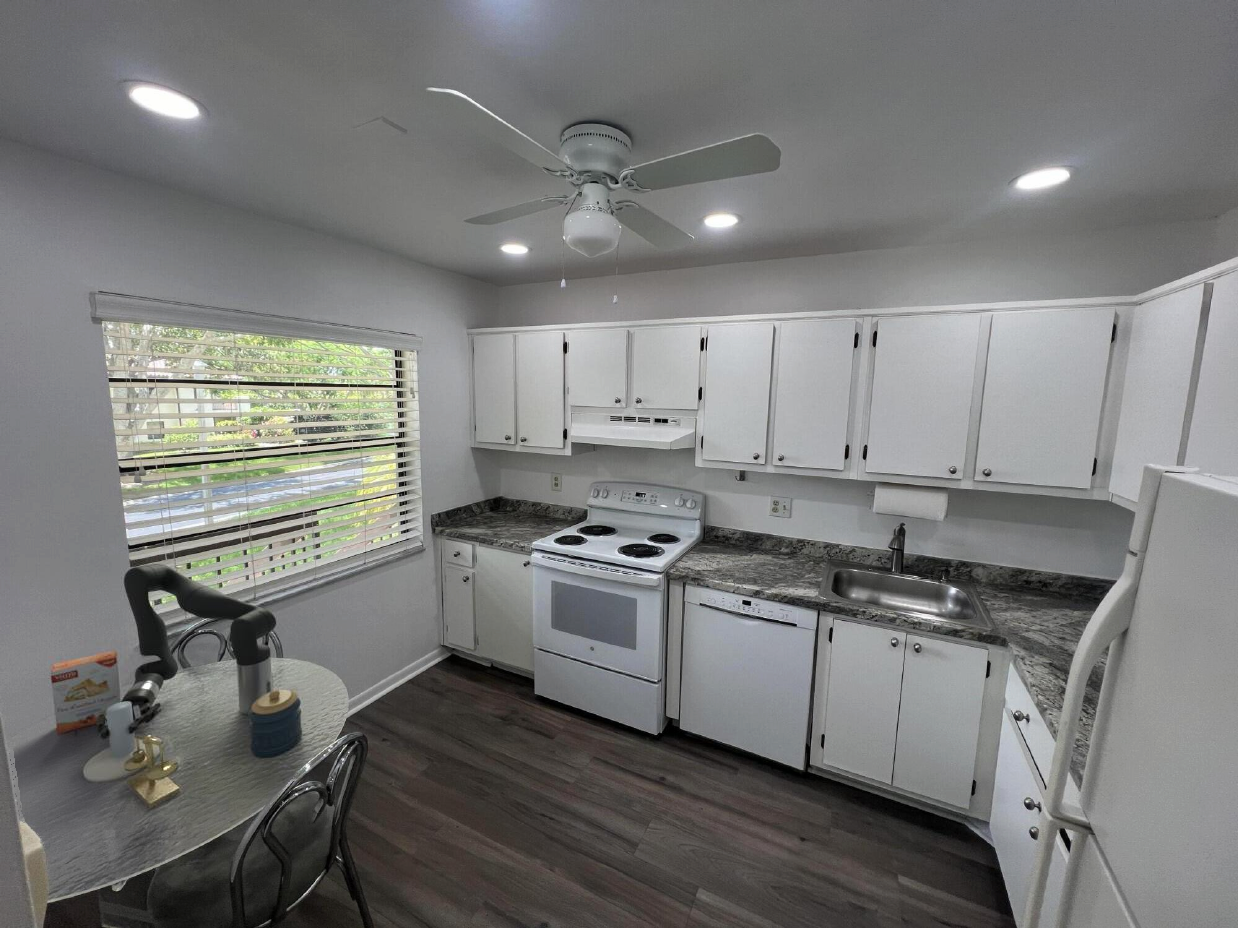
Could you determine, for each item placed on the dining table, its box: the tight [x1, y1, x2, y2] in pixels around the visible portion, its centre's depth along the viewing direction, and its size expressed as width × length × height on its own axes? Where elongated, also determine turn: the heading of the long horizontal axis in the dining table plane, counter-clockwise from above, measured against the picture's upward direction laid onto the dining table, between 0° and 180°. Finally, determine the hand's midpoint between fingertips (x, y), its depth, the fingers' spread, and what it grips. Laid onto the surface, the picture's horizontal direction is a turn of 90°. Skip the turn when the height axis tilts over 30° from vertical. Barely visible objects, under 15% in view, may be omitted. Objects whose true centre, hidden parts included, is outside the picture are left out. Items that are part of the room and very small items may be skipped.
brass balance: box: [124, 733, 180, 810], centre depth 131 cm, size 22×6×17 cm, turn 61°
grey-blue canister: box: [106, 701, 136, 758], centre depth 139 cm, size 5×5×14 cm
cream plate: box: [82, 736, 164, 784], centre depth 141 cm, size 16×16×2 cm
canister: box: [248, 689, 303, 759], centre depth 149 cm, size 13×13×18 cm
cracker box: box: [50, 650, 123, 735], centre depth 154 cm, size 14×6×21 cm, turn 133°
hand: (117, 733), depth 137 cm, fingers closed on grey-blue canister, 5 cm apart
